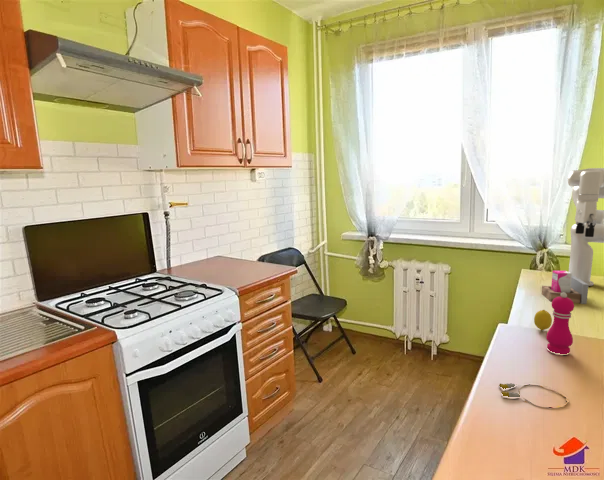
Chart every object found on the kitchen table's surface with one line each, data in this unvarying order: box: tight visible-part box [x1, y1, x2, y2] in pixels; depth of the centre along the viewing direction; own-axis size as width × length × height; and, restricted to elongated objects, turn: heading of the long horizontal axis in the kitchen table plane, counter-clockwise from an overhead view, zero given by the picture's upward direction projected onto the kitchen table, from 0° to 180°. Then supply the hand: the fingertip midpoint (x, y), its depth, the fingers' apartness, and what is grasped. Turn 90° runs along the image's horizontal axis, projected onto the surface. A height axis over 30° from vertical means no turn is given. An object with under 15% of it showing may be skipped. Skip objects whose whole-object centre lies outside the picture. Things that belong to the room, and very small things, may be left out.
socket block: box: [541, 285, 581, 304], centre depth 179 cm, size 12×12×4 cm
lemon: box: [533, 309, 553, 331], centre depth 143 cm, size 6×6×8 cm
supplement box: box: [550, 270, 572, 293], centre depth 179 cm, size 6×6×12 cm
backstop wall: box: [571, 275, 590, 305], centre depth 178 cm, size 16×2×9 cm, turn 166°
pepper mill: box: [546, 292, 575, 354], centre depth 125 cm, size 7×7×20 cm
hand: (584, 235), depth 182 cm, fingers open, 9 cm apart
